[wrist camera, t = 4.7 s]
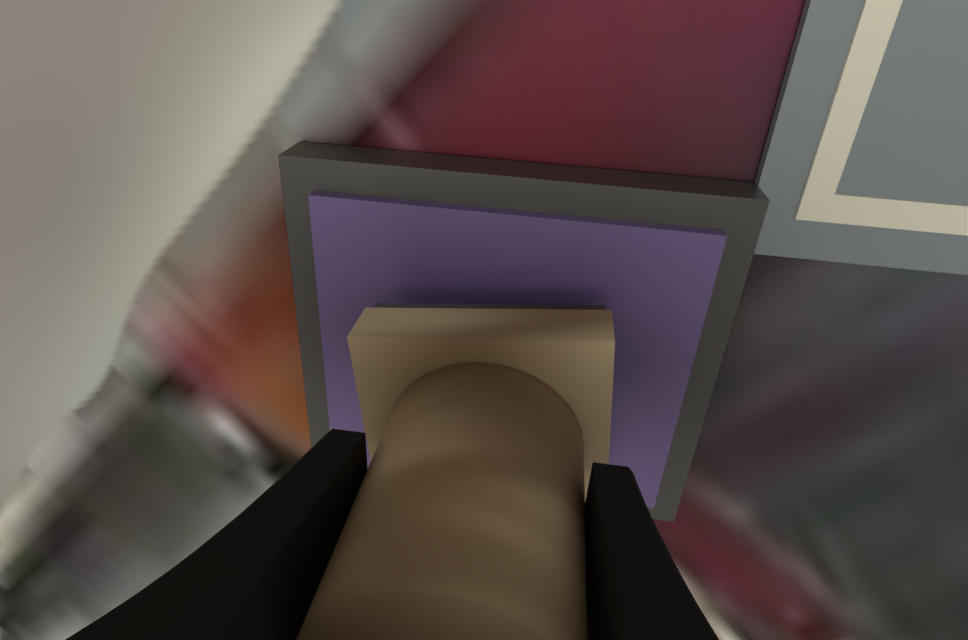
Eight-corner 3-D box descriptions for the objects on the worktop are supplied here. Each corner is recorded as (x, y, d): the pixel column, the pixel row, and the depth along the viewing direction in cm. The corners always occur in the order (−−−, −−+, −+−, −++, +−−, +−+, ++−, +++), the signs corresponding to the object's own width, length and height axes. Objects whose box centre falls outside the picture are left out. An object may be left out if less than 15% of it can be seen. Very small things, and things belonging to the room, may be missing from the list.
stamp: (610, 300, 12) (640, 577, 7) (601, 485, 15) (619, 806, 9) (371, 298, 13) (213, 548, 7) (399, 475, 15) (297, 768, 10)
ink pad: (754, 182, 13) (773, 205, 12) (668, 489, 18) (675, 530, 16) (300, 140, 14) (272, 158, 13) (329, 444, 18) (310, 480, 17)
